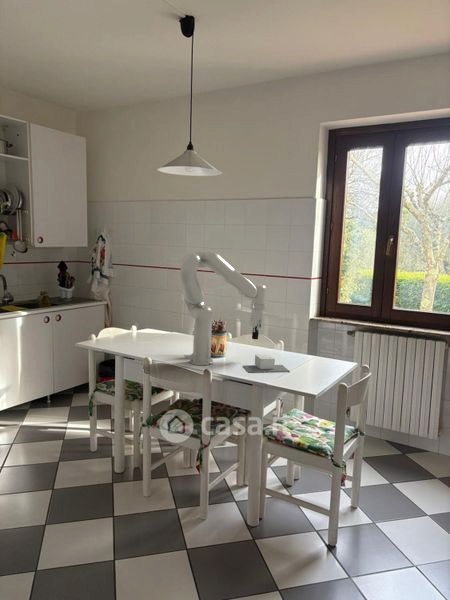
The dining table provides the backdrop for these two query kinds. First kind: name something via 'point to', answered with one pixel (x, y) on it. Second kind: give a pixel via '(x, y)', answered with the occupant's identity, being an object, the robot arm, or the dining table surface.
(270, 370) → the mat
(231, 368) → the dining table surface
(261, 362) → the small box
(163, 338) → the dining table surface
